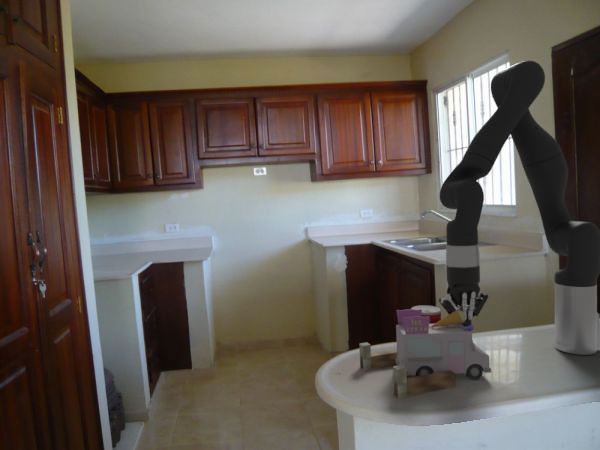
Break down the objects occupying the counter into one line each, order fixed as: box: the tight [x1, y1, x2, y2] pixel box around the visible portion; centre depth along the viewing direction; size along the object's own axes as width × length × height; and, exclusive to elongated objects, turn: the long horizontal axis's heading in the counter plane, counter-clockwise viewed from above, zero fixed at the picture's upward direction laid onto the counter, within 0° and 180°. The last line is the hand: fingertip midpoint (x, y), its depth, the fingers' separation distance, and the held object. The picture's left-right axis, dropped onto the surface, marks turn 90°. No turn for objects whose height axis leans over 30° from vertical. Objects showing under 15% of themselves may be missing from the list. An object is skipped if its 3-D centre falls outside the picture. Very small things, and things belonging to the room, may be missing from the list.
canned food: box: [410, 304, 442, 324], centre depth 118 cm, size 8×8×11 cm
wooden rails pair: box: [359, 341, 456, 399], centre depth 101 cm, size 14×18×6 cm
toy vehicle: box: [395, 308, 492, 381], centre depth 100 cm, size 9×20×15 cm, turn 89°
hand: (464, 334), depth 106 cm, fingers closed
